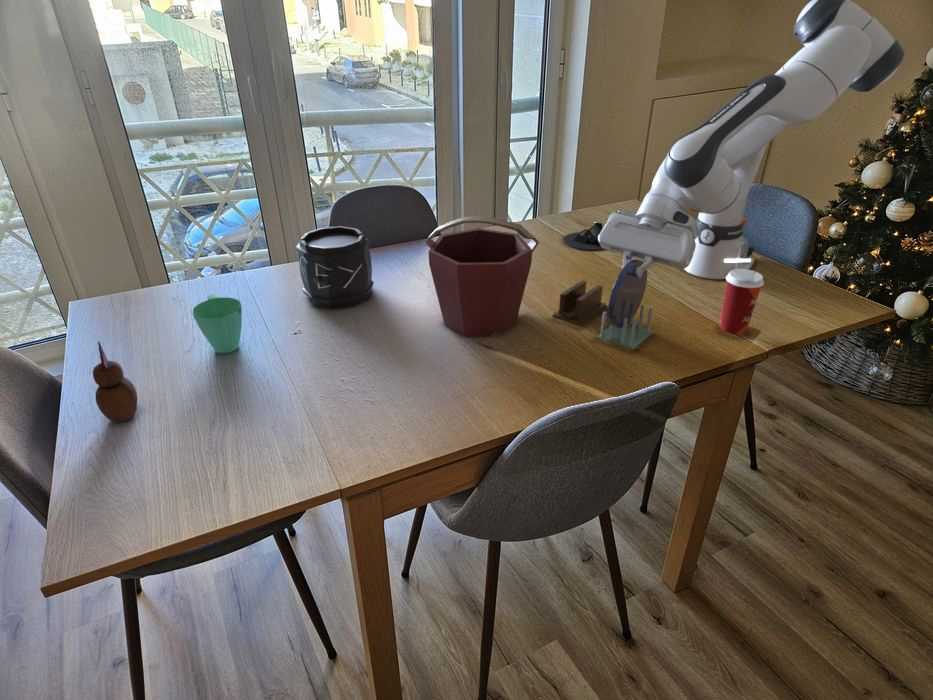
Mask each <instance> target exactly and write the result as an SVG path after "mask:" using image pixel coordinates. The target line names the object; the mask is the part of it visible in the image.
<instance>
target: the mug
mask: <svg viewBox="0 0 933 700" xmlns="http://www.w3.org/2000/svg"><path fill="white" fill-rule="evenodd" d="M242 308H243V307H242V302H241V301H240V300H239V299H237V298H234V297H220V296H219V294H217V293H213V294H212V293H211V294H210V295H208V296H207V300H204V301H202V302H200V303H198V304H196V305H195V306H194V308H192V316H193V318H194V320H195V322H196V325H197V327H198V328H199V329H200V331H201V333H202V335H203V336H204V338H205V339H206V340H207V342H208V344H209V345H210V346H211V347H212V348H213V350H214V351H215V352H216V353H218V354H229V353H232V352H234V351H235V352H236V350H237V349H238V348H239V345H240V340H241V335H242V325H243V324H242V321H243V320H242V319H243V309H242Z"/></svg>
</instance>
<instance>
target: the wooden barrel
mask: <svg viewBox="0 0 933 700" xmlns="http://www.w3.org/2000/svg"><path fill="white" fill-rule="evenodd" d="M370 243H371V242H370V240H369V238H368V237H366V236H365V233H364V232H362V231H361V230H359V229H358V228H355V227H349V226H341V225H338V226H328V227H327V226H326V227H319V228H316V229H314V230H310V231H308V232H307V231H306V232H305V233H304V234H303V236H302V237H300V239H299V243H298V244H297V245H296V247H295V251H296V252H298V267H299V272H300V278H301V281H302V285H303V288H302V293H303V294H304V295H305V297H307V298H308V300H309V301H310V302H311V303H312V304H313V305H314V306H316V307H321V308H326V309H331V310H332V309H341V308H349V307H353V306H356V305H357V304H361V303H362V302H364V301H367V299H368V297H369V296H370V293H371V290H372V289H373V287H374V281H373V279H372V277H373V276H372V275H373V267H372V257H371V251H370V247H369V246H370Z"/></svg>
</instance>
